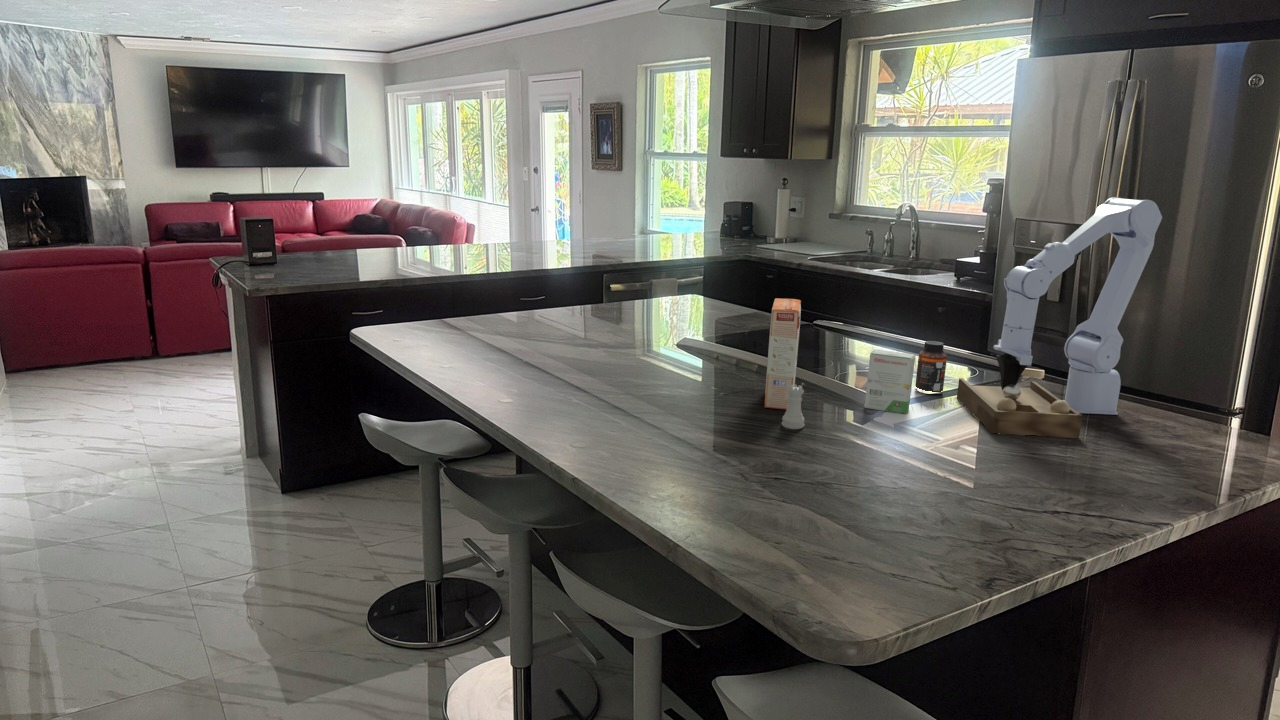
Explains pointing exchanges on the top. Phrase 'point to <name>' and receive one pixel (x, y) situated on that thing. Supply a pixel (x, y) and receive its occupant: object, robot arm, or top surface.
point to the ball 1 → (1006, 405)
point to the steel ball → (1011, 391)
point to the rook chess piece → (794, 409)
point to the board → (1019, 411)
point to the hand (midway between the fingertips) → (1007, 390)
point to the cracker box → (782, 351)
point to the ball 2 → (1060, 407)
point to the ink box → (889, 381)
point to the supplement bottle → (931, 367)
